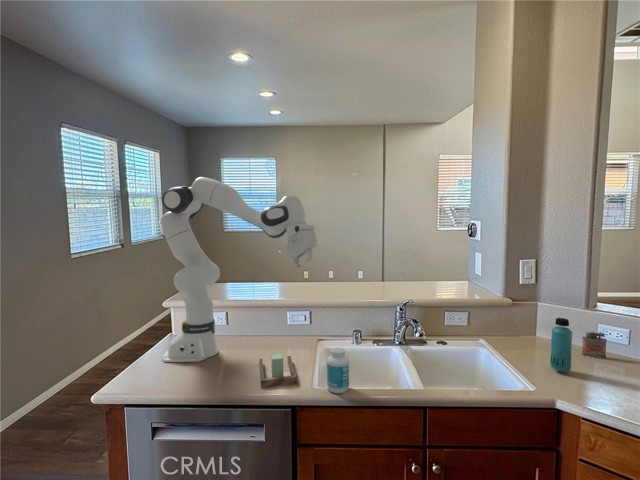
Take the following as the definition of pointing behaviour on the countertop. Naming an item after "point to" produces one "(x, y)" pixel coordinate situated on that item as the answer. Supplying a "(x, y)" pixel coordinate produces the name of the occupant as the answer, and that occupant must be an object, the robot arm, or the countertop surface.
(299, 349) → the countertop surface
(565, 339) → the beverage bottle
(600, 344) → the lighter
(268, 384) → the walnut lane
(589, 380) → the countertop surface
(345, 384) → the pill bottle
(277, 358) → the sage block
